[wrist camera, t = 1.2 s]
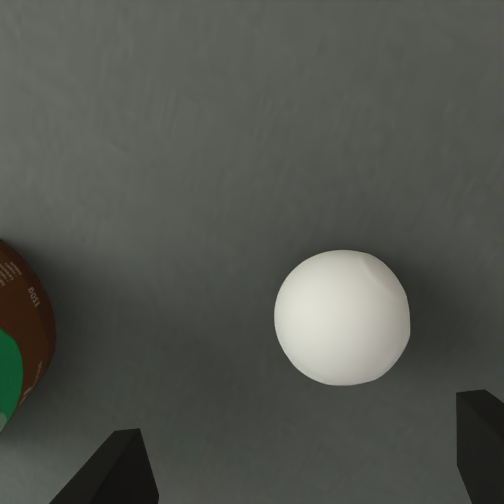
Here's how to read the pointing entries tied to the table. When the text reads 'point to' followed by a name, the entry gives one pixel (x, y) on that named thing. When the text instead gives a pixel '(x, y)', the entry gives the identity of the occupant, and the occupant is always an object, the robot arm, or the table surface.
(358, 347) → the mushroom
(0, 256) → the food container
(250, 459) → the table surface
